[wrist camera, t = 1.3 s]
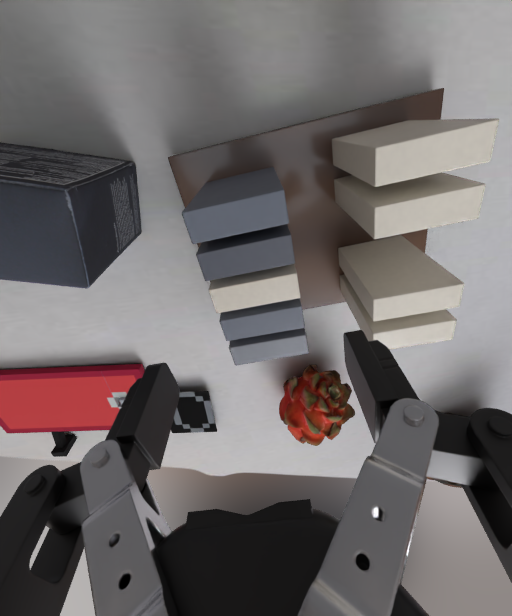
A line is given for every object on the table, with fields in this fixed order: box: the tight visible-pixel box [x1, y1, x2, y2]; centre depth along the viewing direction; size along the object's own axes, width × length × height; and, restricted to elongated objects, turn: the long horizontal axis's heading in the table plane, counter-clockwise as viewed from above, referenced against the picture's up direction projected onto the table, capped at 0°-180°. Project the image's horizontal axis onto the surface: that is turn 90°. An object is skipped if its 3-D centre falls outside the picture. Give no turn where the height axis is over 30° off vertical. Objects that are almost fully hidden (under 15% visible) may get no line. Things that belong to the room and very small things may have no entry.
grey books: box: [182, 167, 309, 365], centre depth 21 cm, size 11×6×9 cm, turn 12°
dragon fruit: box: [279, 365, 355, 446], centre depth 34 cm, size 8×8×12 cm
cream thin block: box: [209, 264, 300, 313], centre depth 21 cm, size 2×6×9 cm, turn 102°
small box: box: [0, 142, 141, 288], centre depth 20 cm, size 11×6×10 cm, turn 83°
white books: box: [332, 119, 499, 350], centre depth 20 cm, size 13×6×9 cm, turn 12°
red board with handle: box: [0, 364, 217, 457], centre depth 38 cm, size 30×3×15 cm
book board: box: [168, 88, 444, 310], centre depth 25 cm, size 16×20×2 cm
